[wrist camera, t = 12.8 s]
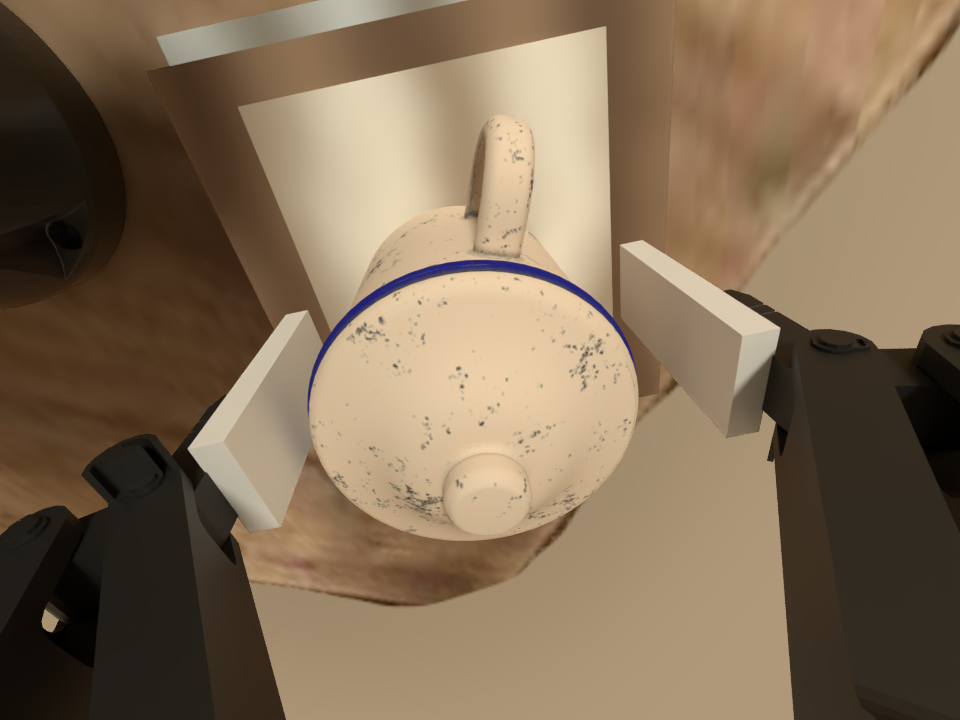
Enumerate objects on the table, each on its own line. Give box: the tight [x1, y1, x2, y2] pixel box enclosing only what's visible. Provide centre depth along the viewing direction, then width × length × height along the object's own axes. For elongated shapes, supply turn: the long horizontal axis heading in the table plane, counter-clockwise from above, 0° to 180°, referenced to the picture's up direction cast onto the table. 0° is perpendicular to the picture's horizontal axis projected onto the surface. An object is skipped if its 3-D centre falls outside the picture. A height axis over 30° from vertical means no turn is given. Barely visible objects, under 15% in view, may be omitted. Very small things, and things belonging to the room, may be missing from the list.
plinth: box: [146, 0, 676, 397], centre depth 21 cm, size 22×22×7 cm
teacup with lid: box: [307, 115, 638, 541], centre depth 13 cm, size 12×9×12 cm
